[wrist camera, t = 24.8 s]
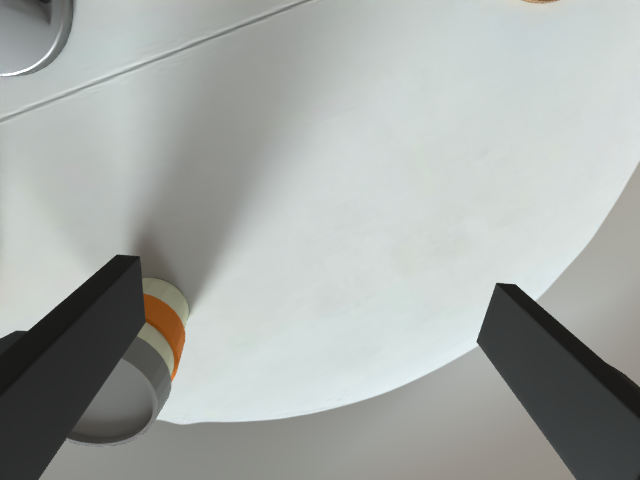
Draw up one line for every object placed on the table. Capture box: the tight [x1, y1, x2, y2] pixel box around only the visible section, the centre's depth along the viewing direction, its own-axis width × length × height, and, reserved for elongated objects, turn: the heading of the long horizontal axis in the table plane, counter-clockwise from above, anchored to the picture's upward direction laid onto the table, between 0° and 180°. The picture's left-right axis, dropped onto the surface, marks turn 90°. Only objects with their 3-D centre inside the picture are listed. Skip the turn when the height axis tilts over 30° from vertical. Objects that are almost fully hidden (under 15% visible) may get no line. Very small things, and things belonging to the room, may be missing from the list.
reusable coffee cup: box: [65, 278, 189, 447], centre depth 39 cm, size 13×13×15 cm
